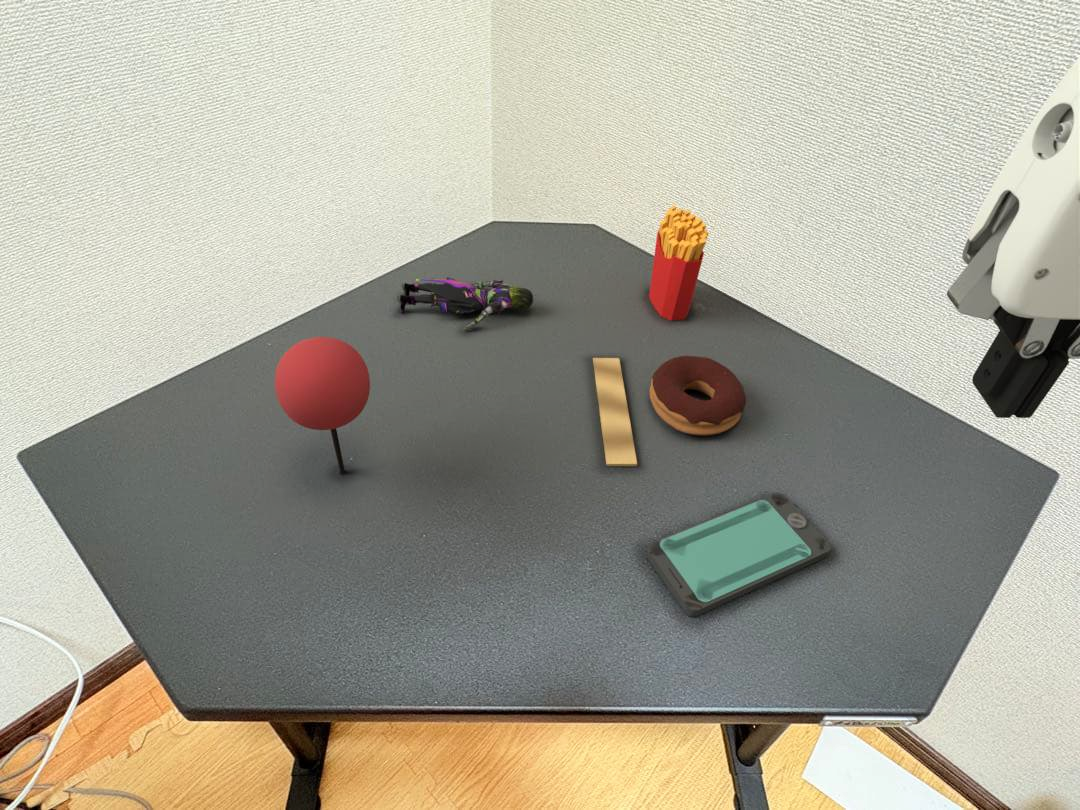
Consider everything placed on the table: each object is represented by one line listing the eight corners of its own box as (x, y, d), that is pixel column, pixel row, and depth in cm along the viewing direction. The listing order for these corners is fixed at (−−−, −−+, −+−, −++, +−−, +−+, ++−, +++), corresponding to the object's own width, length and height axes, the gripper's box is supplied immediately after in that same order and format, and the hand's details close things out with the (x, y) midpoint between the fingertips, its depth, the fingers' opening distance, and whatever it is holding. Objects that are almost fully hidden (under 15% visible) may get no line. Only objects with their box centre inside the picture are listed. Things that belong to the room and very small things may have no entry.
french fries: (642, 288, 93) (656, 202, 85) (671, 285, 94) (687, 199, 85) (667, 328, 87) (684, 240, 79) (697, 324, 88) (718, 236, 79)
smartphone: (834, 547, 63) (692, 611, 58) (830, 555, 64) (689, 619, 59) (779, 487, 68) (643, 542, 63) (776, 496, 69) (641, 550, 64)
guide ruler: (636, 466, 71) (637, 463, 70) (606, 466, 71) (606, 463, 70) (619, 360, 82) (619, 357, 82) (592, 360, 82) (593, 357, 82)
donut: (746, 446, 73) (755, 417, 70) (648, 437, 74) (654, 408, 71) (736, 380, 81) (744, 352, 78) (647, 372, 81) (652, 344, 78)
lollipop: (386, 496, 67) (365, 373, 57) (300, 508, 66) (263, 384, 55) (381, 437, 72) (361, 315, 62) (302, 447, 71) (268, 324, 61)
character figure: (395, 330, 85) (531, 334, 85) (390, 304, 83) (530, 307, 82) (410, 285, 92) (536, 288, 91) (406, 260, 90) (535, 262, 89)
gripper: (1098, 58, 23) (888, 451, 36) (1539, 70, 24) (1179, 451, 36) (986, -8, 29) (838, 354, 41) (1347, 4, 29) (1092, 356, 42)
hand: (998, 399), depth 39 cm, fingers closed
